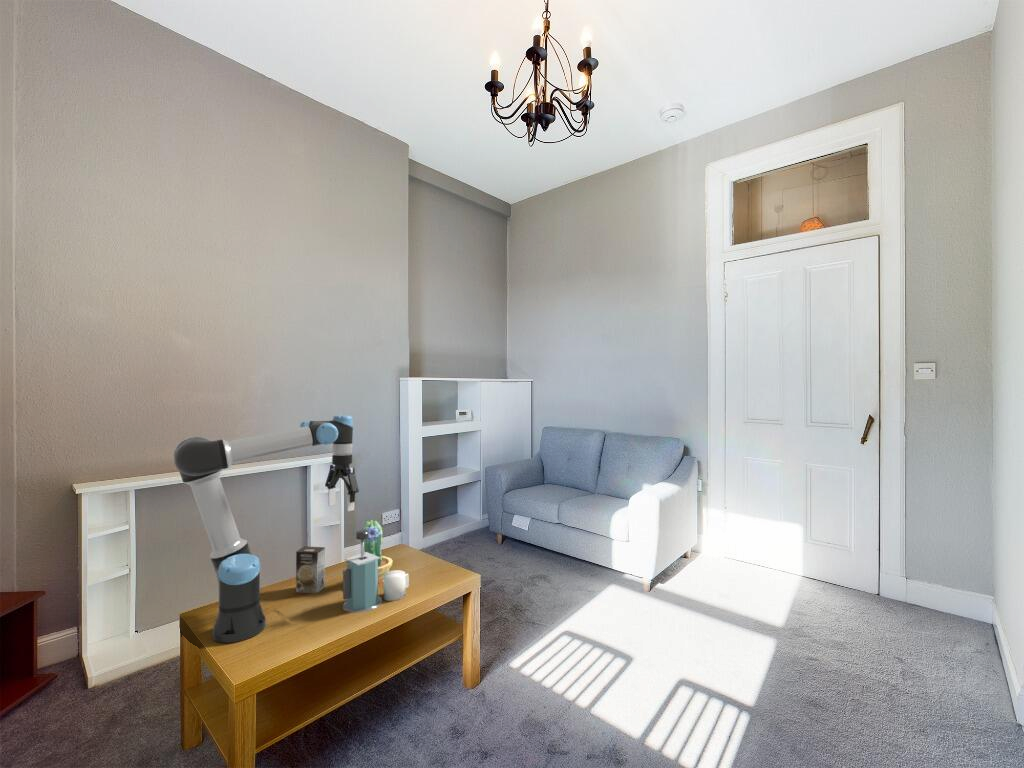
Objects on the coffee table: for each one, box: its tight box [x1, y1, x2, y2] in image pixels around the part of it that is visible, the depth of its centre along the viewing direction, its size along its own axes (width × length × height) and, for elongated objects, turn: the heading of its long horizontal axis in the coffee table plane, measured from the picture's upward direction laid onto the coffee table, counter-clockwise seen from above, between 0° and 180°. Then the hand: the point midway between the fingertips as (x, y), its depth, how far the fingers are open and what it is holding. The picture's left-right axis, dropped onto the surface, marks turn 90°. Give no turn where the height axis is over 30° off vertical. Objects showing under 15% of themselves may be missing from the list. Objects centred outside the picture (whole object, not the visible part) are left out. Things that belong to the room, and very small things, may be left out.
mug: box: [383, 569, 410, 602], centre depth 177 cm, size 10×8×9 cm
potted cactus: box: [361, 519, 393, 584], centre depth 191 cm, size 15×15×25 cm
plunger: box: [355, 529, 369, 560], centre depth 171 cm, size 8×8×16 cm
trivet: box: [342, 595, 384, 613], centre depth 171 cm, size 14×14×1 cm
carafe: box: [342, 552, 380, 610], centre depth 170 cm, size 12×10×16 cm
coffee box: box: [295, 545, 326, 594], centre depth 185 cm, size 9×6×16 cm
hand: (341, 507), depth 186 cm, fingers open, 13 cm apart
